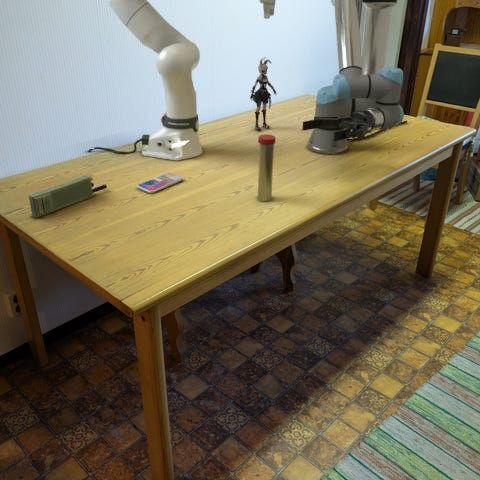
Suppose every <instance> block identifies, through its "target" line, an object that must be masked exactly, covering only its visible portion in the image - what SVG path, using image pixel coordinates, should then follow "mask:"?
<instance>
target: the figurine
mask: <svg viewBox="0 0 480 480" xmlns="http://www.w3.org/2000/svg"><path fill="white" fill-rule="evenodd" d="M268 63H269V64H270V65H271V64H272V61H271V60H270V59H268V58H267V59H266V56H264V57H263V58H261V59H260V60H259V64H258V68H257V70H258V73H259V75H258V76H257V77H256V80H255V82H254V85H252V87H251V88H252V89H251V91H250V93H251V94H250V97H249V99H250V101H253V102H254V103H255V104H256V109H255V112H254V114H255V125H254V129H255V131H257V132H261V130H262V129H261V128H260V126H259V117H260V115H261V113H262V120H263V121H262V128H264V129H266V130H267V129H270V125H268V123H267V121H266V117H267V105H268V110H270V109H271V106H272V97H271V96H272V95H271V93H270V92H269V90H268V88H267V86H268V87H270V89H271V90H272V92H273V95H274V96H277V93H278V92H277V90H276V89H275V87H274V85H272V83H271V82H270V81H269V78H268V75H267V74H268V69H269V67H268ZM258 84H259V88H258V89H257V90H256V88H257V85H258ZM261 107H262V109H261Z"/></svg>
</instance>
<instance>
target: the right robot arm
mask: <svg viewBox="0 0 480 480" xmlns="http://www.w3.org/2000/svg"><path fill="white" fill-rule="evenodd" d="M359 1H360V0H330V3H331V5H332V6H333V7H334V19H335V20H334V22H335V35H336V49H337V50H336V51H337V62H338V64H337V65H338V74H335V75H334V77H333V80H332V85H327V86H326V85H325V86H323V87H321V88H320V89H318V91H317V93H316V98H315V99H316V100H315V113H314V117H313V119H310V120H304V121H302V128H301V130H302V131H304V132H305V131H309V130H312V131H311V133H310V136H309V139H308V141H307V148H308V150H310V151H312V152H314V153H318V154H322V155H340V154H343V153H346V152H347V151H348V145H349V144H348V142H355V141H360V140H364V139H369V138H371V137H374V136H376V135H378V134H380V133H382V132H383V131H385V130H387V129H391V128H393V127H397V126H399V125H404V124H407V123H408V121H407V120H404V117H405V113H404V109H403V107H402V106H401V105H400V99H401V93H402V87H403V80H404V71H403V70H402V69H401V68H399V67H390V66H387V67H385V65H386V57H387V48H388V40H389V31H390V23H391V14H392V9H393V8H394V7H395V6H397V4H398V0H362V1H361V4H362V5H363V7H364V8H365V17H364V26H363V34H362V35H363V36H362V45H361V32H360V20H359V19H360V18H359V6H358V3H359ZM403 120H404V121H403ZM372 132H373V133H372ZM367 134H368V135H367Z"/></svg>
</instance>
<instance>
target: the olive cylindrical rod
mask: <svg viewBox="0 0 480 480" xmlns="http://www.w3.org/2000/svg"><path fill="white" fill-rule="evenodd" d="M258 145H259V149H258V150H259V151H258V180H257V181H258V183H257V200H258V201H260V202H270V201H271V200H272V194H273V193H272V192H273V191H272V190H273V176H274V175H273V170H274V150H275V144H272V145H262V144H260V143H259V144H258Z"/></svg>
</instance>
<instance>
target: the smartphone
mask: <svg viewBox="0 0 480 480" xmlns="http://www.w3.org/2000/svg"><path fill="white" fill-rule="evenodd" d="M182 181H184V177H183V176H180V175H179V174H174V173H172V172H166V173H163V174H161V175H159V176H156V177H154V178H151V179H149V180H146V181H143V182H141V183H138V184H137V185H136V188H137V189H139V190H141V191H143V192H145V193H148V194H154V193H156V192H158V191H160V190H161V191H162V190H164V189H166V188H168V187H170V186H172V185H175V184H177V183H180V182H182Z"/></svg>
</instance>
